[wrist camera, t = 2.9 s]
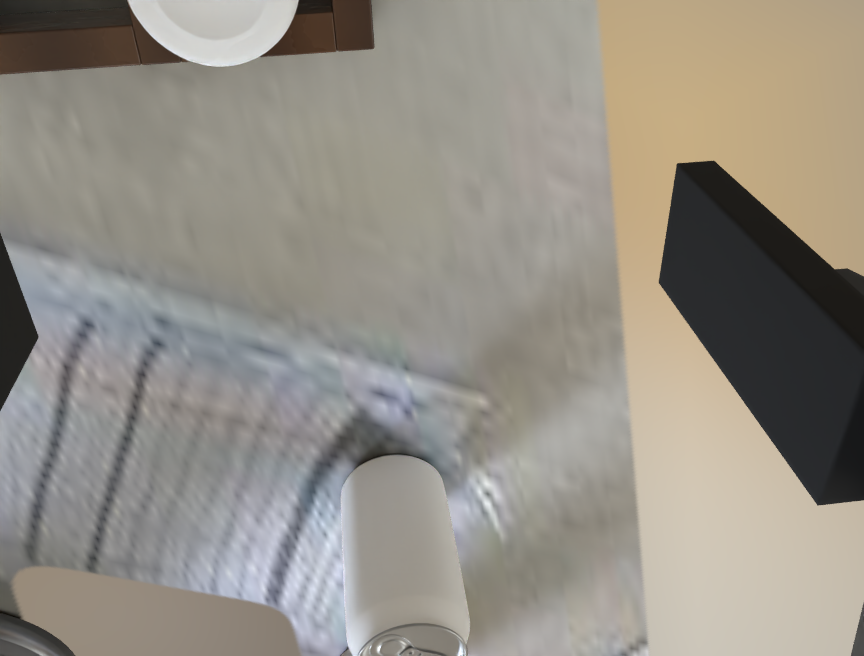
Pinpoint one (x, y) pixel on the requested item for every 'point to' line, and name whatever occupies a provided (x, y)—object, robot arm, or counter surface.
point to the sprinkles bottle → (216, 27)
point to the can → (401, 562)
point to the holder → (132, 45)
